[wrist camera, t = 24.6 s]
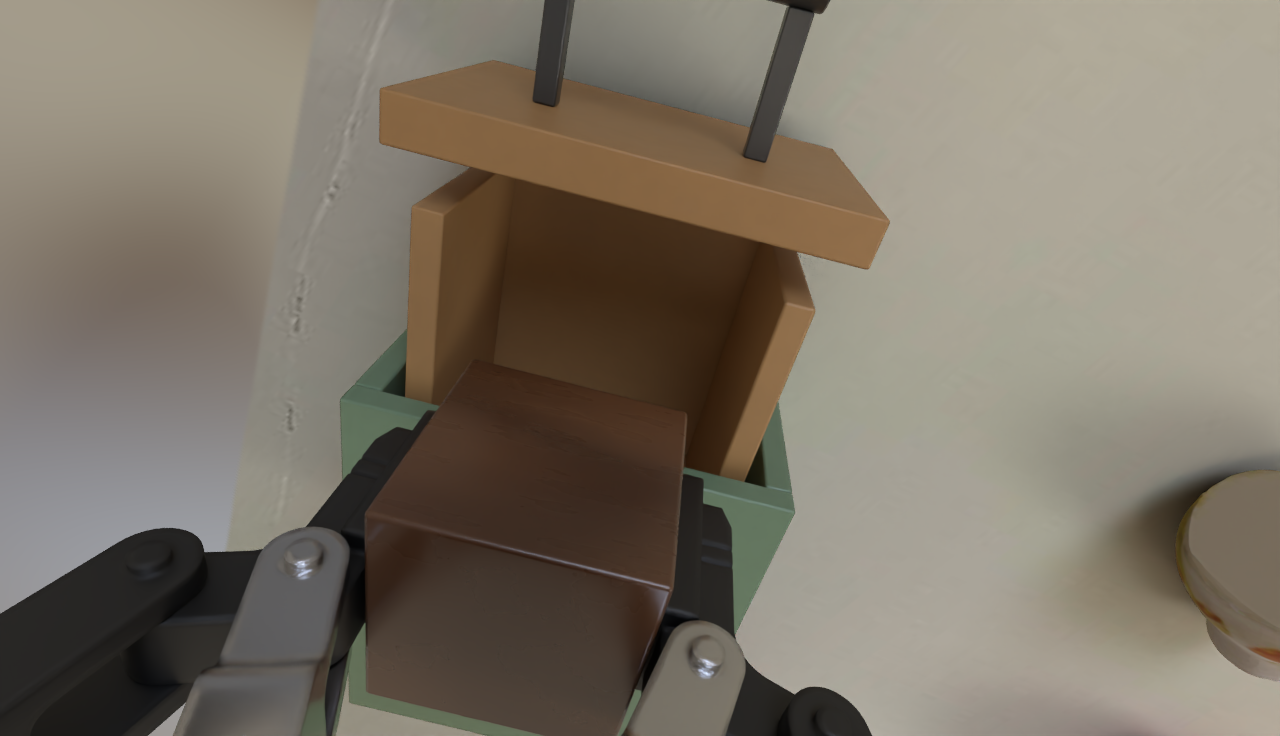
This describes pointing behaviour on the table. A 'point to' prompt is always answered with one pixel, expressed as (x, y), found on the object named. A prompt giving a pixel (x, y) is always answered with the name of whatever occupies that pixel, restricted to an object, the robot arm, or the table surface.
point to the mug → (1237, 568)
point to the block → (525, 554)
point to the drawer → (622, 238)
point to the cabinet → (748, 505)
